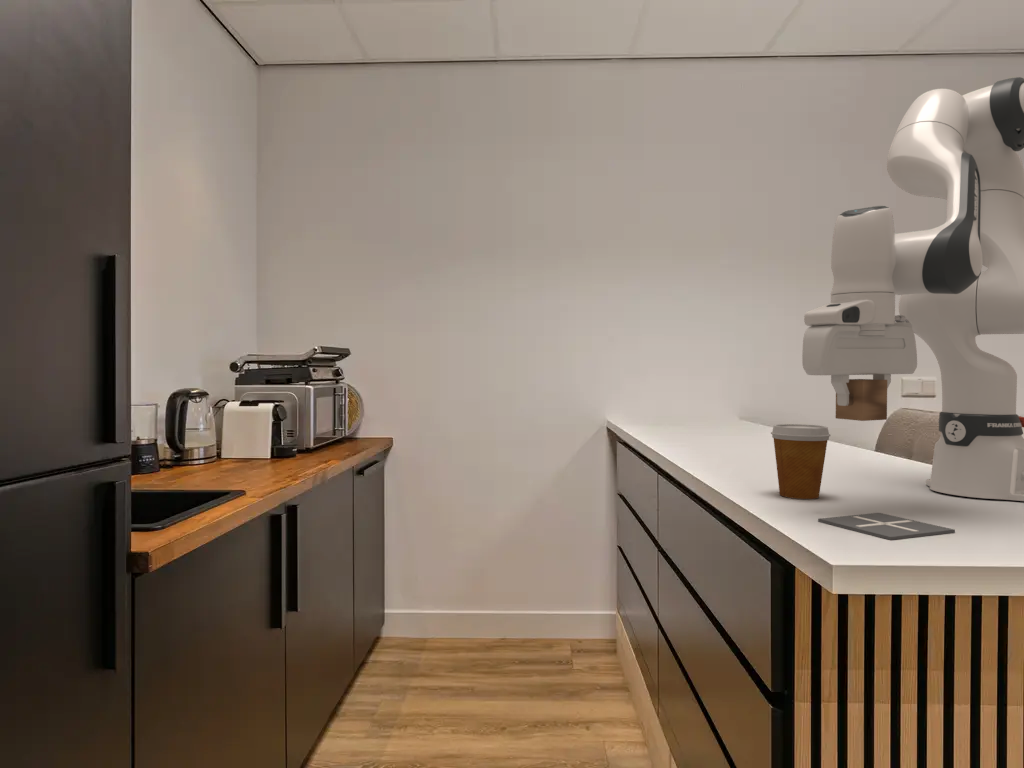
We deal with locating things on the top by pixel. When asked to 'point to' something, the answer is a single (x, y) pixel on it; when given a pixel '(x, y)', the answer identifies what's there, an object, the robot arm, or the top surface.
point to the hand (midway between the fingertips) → (860, 405)
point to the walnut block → (865, 400)
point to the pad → (886, 526)
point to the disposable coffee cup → (800, 459)
